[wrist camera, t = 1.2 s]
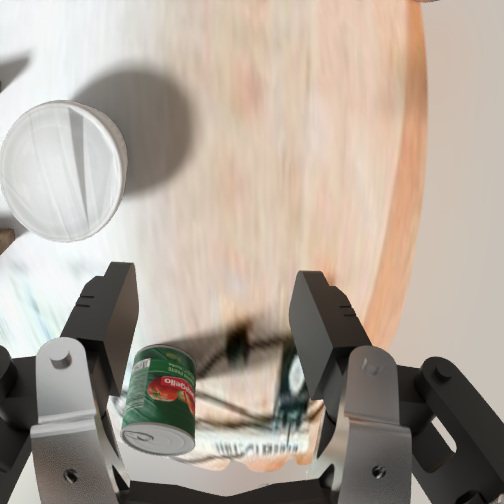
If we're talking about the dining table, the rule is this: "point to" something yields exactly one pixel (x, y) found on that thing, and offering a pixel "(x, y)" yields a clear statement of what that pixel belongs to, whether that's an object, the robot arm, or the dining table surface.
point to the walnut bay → (6, 239)
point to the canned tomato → (161, 402)
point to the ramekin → (63, 170)
